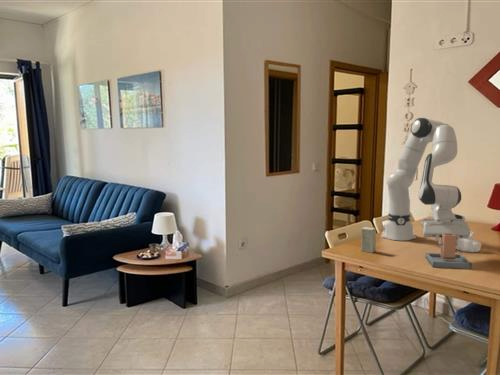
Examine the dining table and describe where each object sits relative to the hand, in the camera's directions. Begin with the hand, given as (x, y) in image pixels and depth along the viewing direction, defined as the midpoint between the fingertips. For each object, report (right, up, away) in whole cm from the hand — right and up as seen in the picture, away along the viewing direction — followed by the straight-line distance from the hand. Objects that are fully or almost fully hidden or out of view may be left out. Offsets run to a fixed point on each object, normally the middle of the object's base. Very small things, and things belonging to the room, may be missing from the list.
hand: (448, 244), depth 184 cm
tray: (0, -9, +2) cm, 9 cm away
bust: (+20, -6, +21) cm, 30 cm away
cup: (0, -6, +1) cm, 6 cm away
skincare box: (-30, -7, +23) cm, 38 cm away
